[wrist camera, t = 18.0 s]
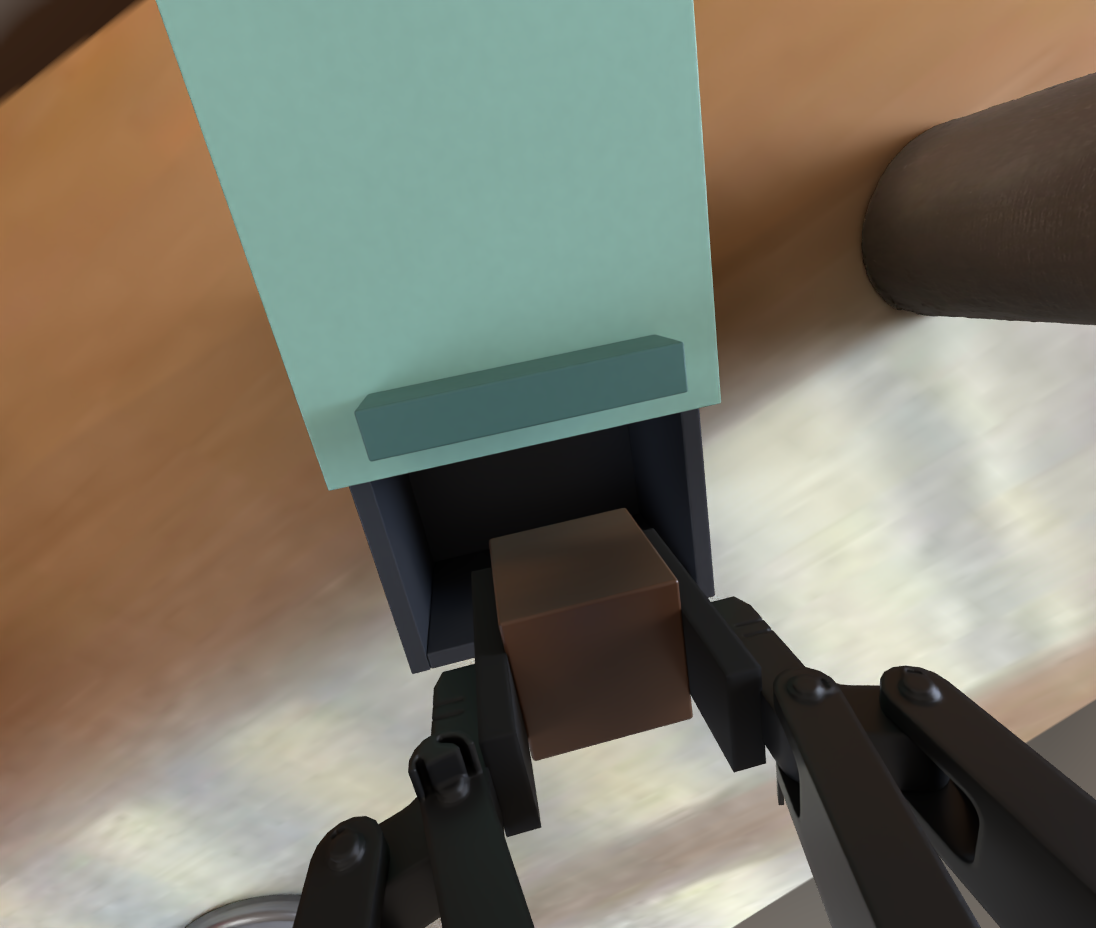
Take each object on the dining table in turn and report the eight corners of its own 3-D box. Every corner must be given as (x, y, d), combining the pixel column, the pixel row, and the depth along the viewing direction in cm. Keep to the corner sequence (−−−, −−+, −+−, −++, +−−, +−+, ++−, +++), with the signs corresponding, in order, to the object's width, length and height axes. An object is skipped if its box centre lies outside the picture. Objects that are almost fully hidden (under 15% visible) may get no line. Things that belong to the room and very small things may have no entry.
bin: (423, 569, 31) (412, 674, 23) (332, 267, 25) (272, 261, 17) (649, 515, 32) (715, 596, 24) (611, 215, 26) (681, 186, 18)
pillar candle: (870, 338, 31) (1217, 389, 17) (848, 154, 27) (1264, 22, 13) (1023, 279, 31) (1489, 280, 17) (1021, 89, 28) (1605, -106, 14)
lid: (334, 481, 19) (309, 521, 16) (115, -152, 13) (5, -291, 10) (709, 397, 21) (757, 420, 17) (663, -214, 15) (721, -355, 11)
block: (516, 652, 18) (533, 763, 14) (487, 538, 16) (498, 625, 12) (641, 620, 18) (694, 719, 14) (625, 506, 17) (679, 579, 13)
